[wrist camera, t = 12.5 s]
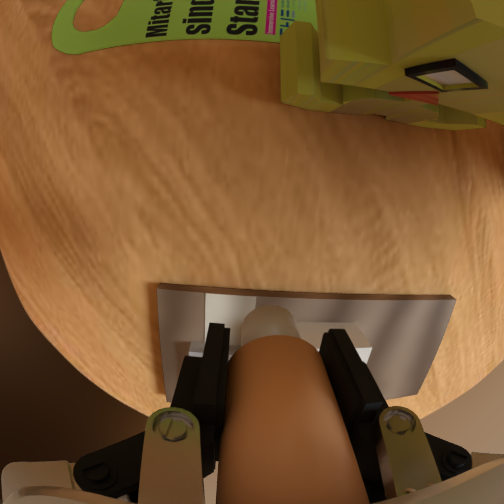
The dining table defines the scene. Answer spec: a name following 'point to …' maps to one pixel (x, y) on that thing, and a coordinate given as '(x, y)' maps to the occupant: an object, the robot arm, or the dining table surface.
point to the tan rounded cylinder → (283, 422)
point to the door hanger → (183, 22)
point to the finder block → (315, 330)
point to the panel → (310, 310)
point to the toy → (399, 61)
